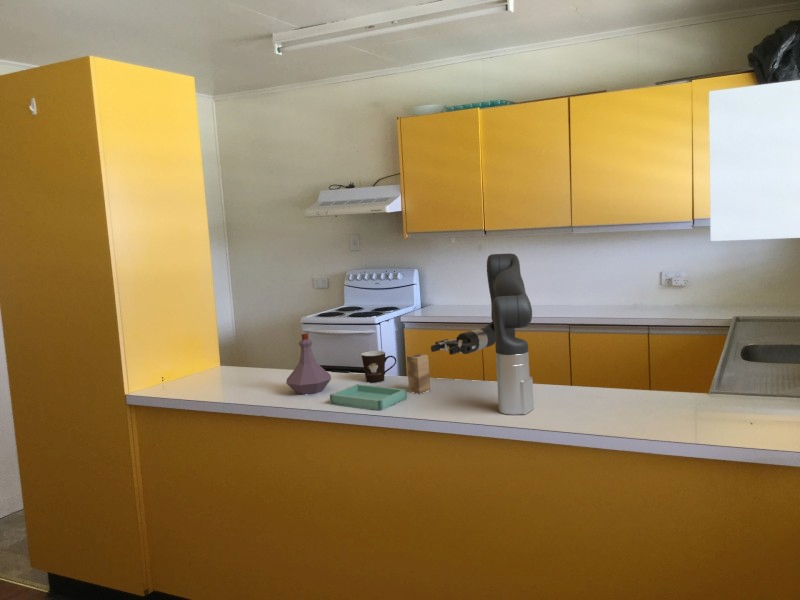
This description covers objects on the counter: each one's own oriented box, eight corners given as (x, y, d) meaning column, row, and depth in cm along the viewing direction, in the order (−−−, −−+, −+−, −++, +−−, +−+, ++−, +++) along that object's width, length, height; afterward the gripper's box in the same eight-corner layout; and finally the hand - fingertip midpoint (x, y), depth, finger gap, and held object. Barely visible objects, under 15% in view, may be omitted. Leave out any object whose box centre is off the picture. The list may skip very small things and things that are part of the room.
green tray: (407, 398, 215) (406, 389, 215) (380, 410, 204) (380, 401, 203) (357, 392, 226) (357, 384, 226) (330, 403, 215) (329, 394, 215)
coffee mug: (358, 383, 240) (356, 355, 239) (371, 377, 248) (368, 350, 246) (387, 384, 235) (385, 356, 233) (398, 378, 242) (397, 351, 241)
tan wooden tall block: (430, 390, 223) (428, 355, 221) (419, 394, 219) (417, 358, 218) (419, 388, 226) (417, 353, 225) (409, 392, 223) (406, 356, 222)
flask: (340, 384, 239) (335, 329, 237) (323, 397, 224) (318, 338, 221) (297, 385, 243) (292, 330, 241) (278, 397, 228) (272, 339, 225)
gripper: (456, 329, 245) (425, 337, 234) (487, 332, 234) (455, 341, 223) (457, 349, 246) (426, 358, 235) (488, 353, 235) (457, 363, 225)
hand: (440, 350), depth 229 cm, fingers open, 8 cm apart
